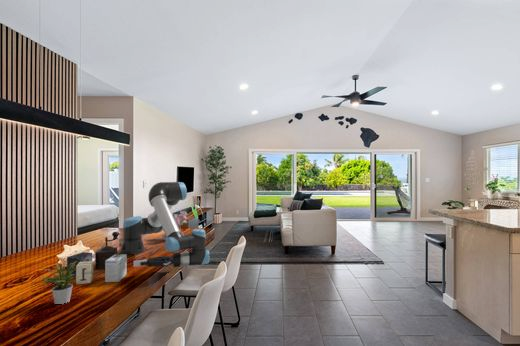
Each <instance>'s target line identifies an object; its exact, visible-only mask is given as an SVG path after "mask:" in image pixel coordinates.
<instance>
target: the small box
mask: <svg viewBox="0 0 520 346" xmlns="http://www.w3.org/2000/svg"><path fill="white" fill-rule="evenodd" d="M76 261H77V262H76ZM86 261H93V252H86V251H82V252H79V253H75V254H73V255H70V256H67V257H66V268H67V267H68V265H69V264H71V263H72V264H73V263H74V262H76V263H75V264H74V265H75V266H74V265H73V266H74V267H73V269H72V268H71V269H72V270H70V271H73V270H74V269H75V270H74V271H73V272H72V273H71V274H74V275H72V276H71V277H73V279H76V268H75V267H76V265H77V264H78V263H79V262H86ZM72 264H71V265H72ZM71 265H70V266H71ZM70 266H69V267H70ZM69 267H68V269H69ZM68 269H67V271H66V273H67V272H68ZM74 277H75V278H74Z"/></svg>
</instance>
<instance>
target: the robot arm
mask: <svg viewBox="0 0 520 346" xmlns="http://www.w3.org/2000/svg"><path fill="white" fill-rule="evenodd" d="M187 190H188V189H187V187H186V184H185V183H184V182H182V181H181V182H180V181H172V182H171V181H168V182H166V181H165V182H164V181H161V182H156V183H155V184H153V185H152V187H151V188H150V189H149V191H148V202H149V205H150V206H151V207H152V208H153V209H154V210H153V212H151V213H150V214H148V216H147V217H142V216H140V215H138V216H131V217H127V218H126V219H124V220H123V224H122V228H123V229H122V235H123V236H122V238H123V239H122V243H121V246H120V248H119V249H120V251H119V252H120V255H121V254H127V255H136V254H140V253H142V252H145V246H144V242H143V238H142V237H143V236H144V235H145V236H146V235H150V234H158V233H161V232H163V233H164V235H165V234H166V236H167V238H166V240H164V246H165V250H166V251H167V252H168V253H172V252H173V253H172V256H170V255H167V254H166V255H161V256H155V257H149V258H148V259H139V260H133V268H135V267H136V268H137V267H145V266H147V267H149V268H150V267H151V268H153V267H168V266H170V265H172V266H173V268H178V267H179V268H180V267H185V268H187V267H188V266H202V265H206V264H209V263H210V258H211V257H210V256H211V255H210V250H208V249H206V240H207V239H206V238H207V236H206V230H205V229H203V228H195V229H192V230H191V233H189V234H184V235H182V234H181V232H180V227H179V225H178V226H177V223H176V221H175V219H174V214H173V213H172V208H173V207H174V206H176V205H178V204H179V202H180V201H184V200H186V198H187V197H188V196H187V195H188V194H187V193H188V191H187ZM190 249H191V251H183V250H190ZM180 251H182V252H180Z"/></svg>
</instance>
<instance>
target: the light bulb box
mask: <svg viewBox="0 0 520 346" xmlns="http://www.w3.org/2000/svg"><path fill="white" fill-rule="evenodd" d="M127 255H128V254H121V253H120V254H117V255H113V256H112V257H110V258H109V259H107V260H106V261H105V269H104V273H105V276H104V279H105V280H104V281H105V283H112V282H114V283H115V282H116V283H117V282H120V281H121V280H122V279H123V278H124V277H125V276H126V275H127V268H128V267H127V265H128V264H127V263H128V261H127V260H128V259H127V257H128V256H127Z"/></svg>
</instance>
